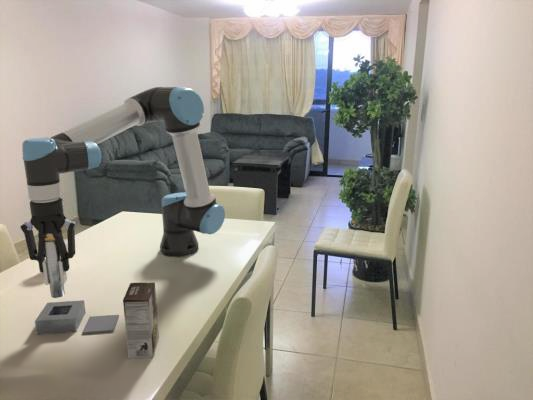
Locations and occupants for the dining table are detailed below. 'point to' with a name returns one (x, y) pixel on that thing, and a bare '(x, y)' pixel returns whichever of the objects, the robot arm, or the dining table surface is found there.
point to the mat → (100, 324)
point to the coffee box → (141, 320)
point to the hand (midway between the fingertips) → (56, 282)
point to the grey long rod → (53, 267)
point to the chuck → (60, 317)
